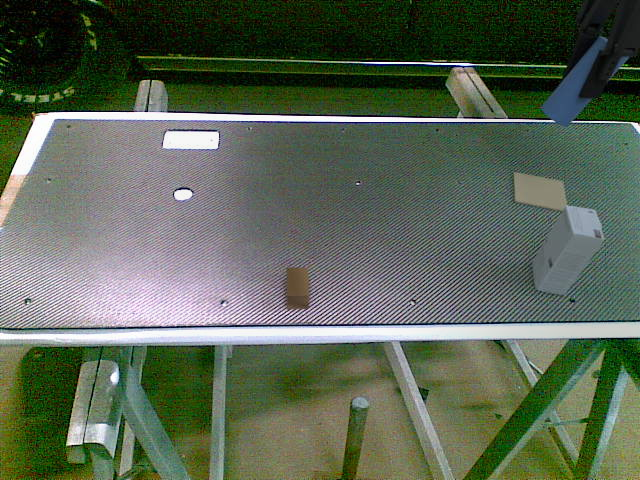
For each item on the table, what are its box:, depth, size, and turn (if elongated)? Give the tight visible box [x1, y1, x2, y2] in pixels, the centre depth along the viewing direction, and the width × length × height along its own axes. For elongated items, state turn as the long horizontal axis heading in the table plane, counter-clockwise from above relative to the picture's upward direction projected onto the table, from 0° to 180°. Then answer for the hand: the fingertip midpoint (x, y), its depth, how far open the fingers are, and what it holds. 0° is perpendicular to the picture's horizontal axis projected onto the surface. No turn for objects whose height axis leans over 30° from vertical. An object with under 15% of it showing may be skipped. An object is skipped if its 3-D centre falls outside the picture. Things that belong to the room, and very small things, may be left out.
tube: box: [540, 35, 630, 127], centre depth 70 cm, size 12×5×5 cm
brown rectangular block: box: [286, 267, 310, 310], centre depth 66 cm, size 3×5×3 cm, turn 3°
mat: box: [512, 171, 568, 213], centre depth 86 cm, size 9×9×1 cm
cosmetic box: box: [531, 205, 605, 296], centre depth 67 cm, size 6×4×12 cm
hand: (579, 87), depth 71 cm, fingers closed on tube, 5 cm apart
